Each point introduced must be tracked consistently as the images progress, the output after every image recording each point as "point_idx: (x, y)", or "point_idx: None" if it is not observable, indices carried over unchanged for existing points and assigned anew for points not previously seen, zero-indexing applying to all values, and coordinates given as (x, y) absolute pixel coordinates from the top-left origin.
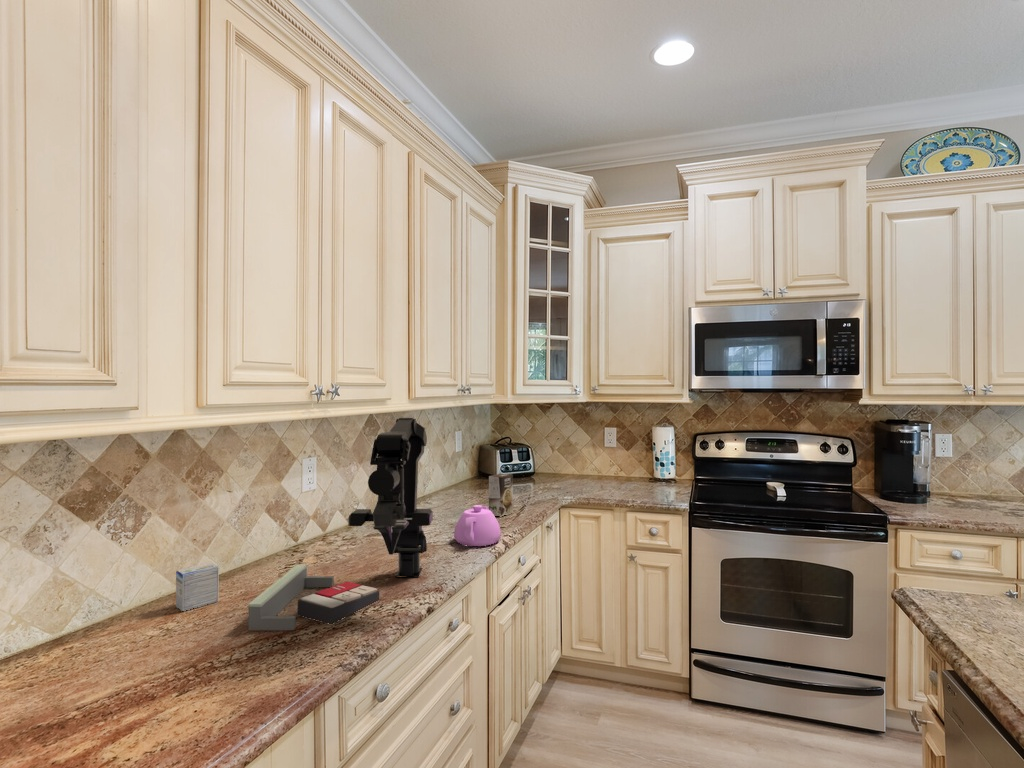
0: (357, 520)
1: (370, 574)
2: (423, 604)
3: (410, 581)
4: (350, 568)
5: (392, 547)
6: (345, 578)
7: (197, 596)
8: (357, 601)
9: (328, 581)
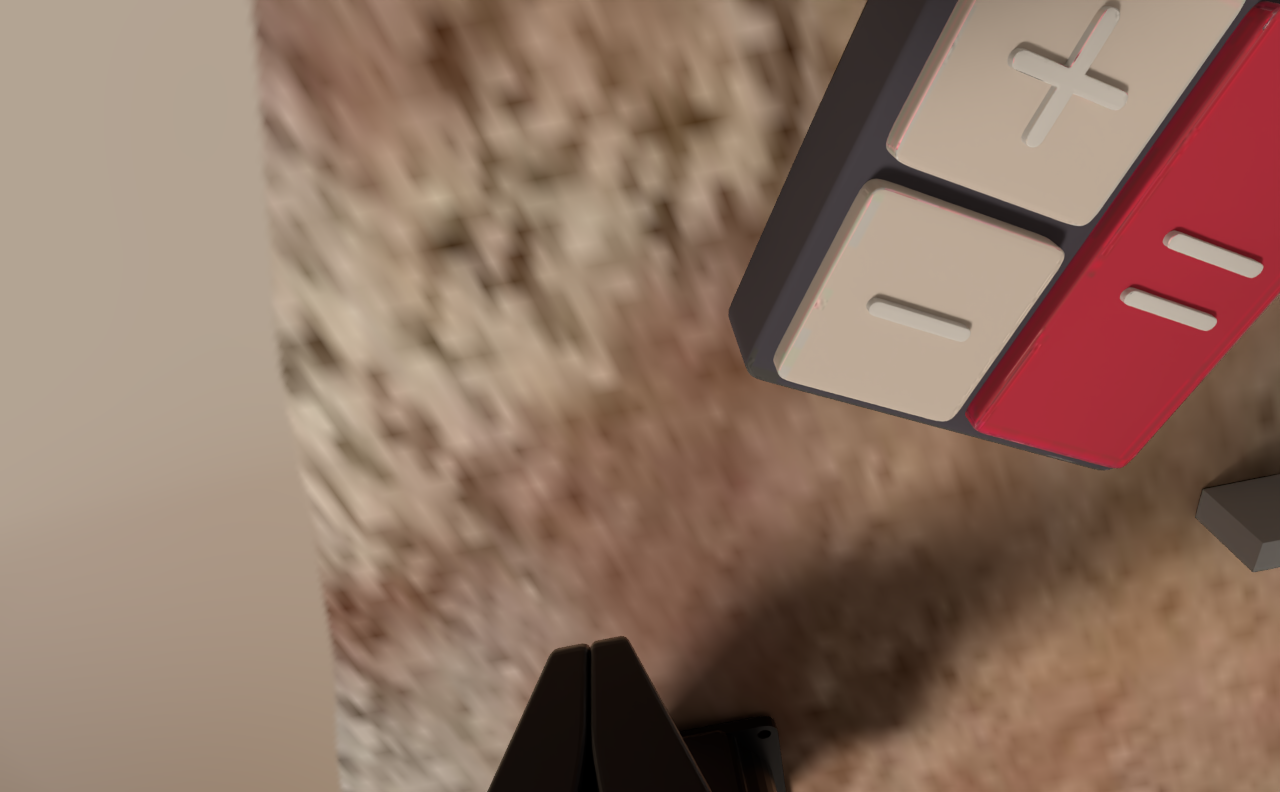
0: None
1: (963, 720)
2: (289, 340)
3: None
4: (1121, 763)
5: (537, 781)
6: (1127, 639)
7: None
8: (894, 46)
9: (1271, 515)
